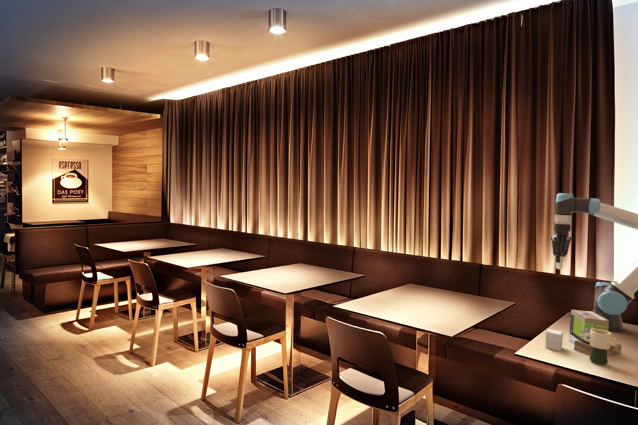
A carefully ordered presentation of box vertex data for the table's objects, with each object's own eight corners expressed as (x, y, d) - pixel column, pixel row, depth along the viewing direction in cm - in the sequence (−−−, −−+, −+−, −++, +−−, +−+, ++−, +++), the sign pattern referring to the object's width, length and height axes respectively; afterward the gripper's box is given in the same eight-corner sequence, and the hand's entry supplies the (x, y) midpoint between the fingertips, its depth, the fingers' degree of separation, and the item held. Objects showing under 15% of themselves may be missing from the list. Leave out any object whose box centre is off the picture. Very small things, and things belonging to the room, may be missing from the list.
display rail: (598, 346, 198) (598, 336, 198) (620, 354, 189) (621, 344, 189) (574, 349, 192) (574, 340, 192) (596, 358, 183) (597, 348, 183)
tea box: (607, 354, 189) (609, 320, 188) (581, 351, 190) (584, 318, 190) (591, 342, 204) (593, 310, 203) (567, 340, 205) (570, 308, 204)
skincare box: (562, 347, 194) (563, 331, 194) (560, 351, 189) (561, 334, 189) (546, 344, 198) (547, 328, 197) (544, 348, 193) (546, 331, 192)
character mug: (613, 363, 178) (616, 331, 178) (615, 369, 172) (618, 336, 171) (582, 357, 184) (584, 326, 183) (583, 362, 177) (585, 330, 177)
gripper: (564, 222, 232) (561, 267, 233) (547, 222, 227) (543, 267, 228) (578, 224, 225) (574, 269, 226) (560, 223, 220) (556, 270, 221)
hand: (559, 268), depth 227 cm, fingers closed
